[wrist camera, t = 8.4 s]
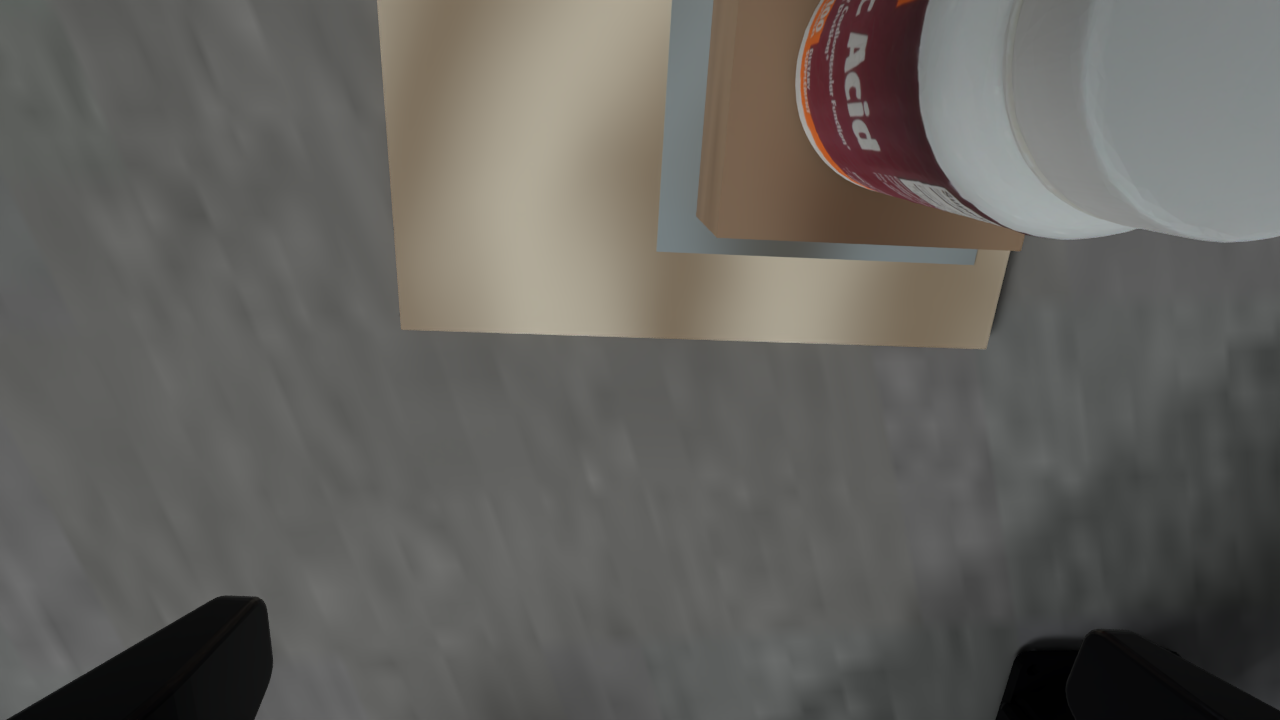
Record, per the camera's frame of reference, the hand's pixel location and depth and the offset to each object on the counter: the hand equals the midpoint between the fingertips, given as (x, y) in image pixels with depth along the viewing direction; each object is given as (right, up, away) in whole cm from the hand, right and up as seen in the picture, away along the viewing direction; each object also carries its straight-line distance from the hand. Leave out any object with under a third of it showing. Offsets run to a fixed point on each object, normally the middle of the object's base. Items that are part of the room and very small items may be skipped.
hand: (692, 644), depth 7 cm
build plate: (+2, +10, +10) cm, 14 cm away
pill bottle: (+5, +9, +7) cm, 12 cm away
